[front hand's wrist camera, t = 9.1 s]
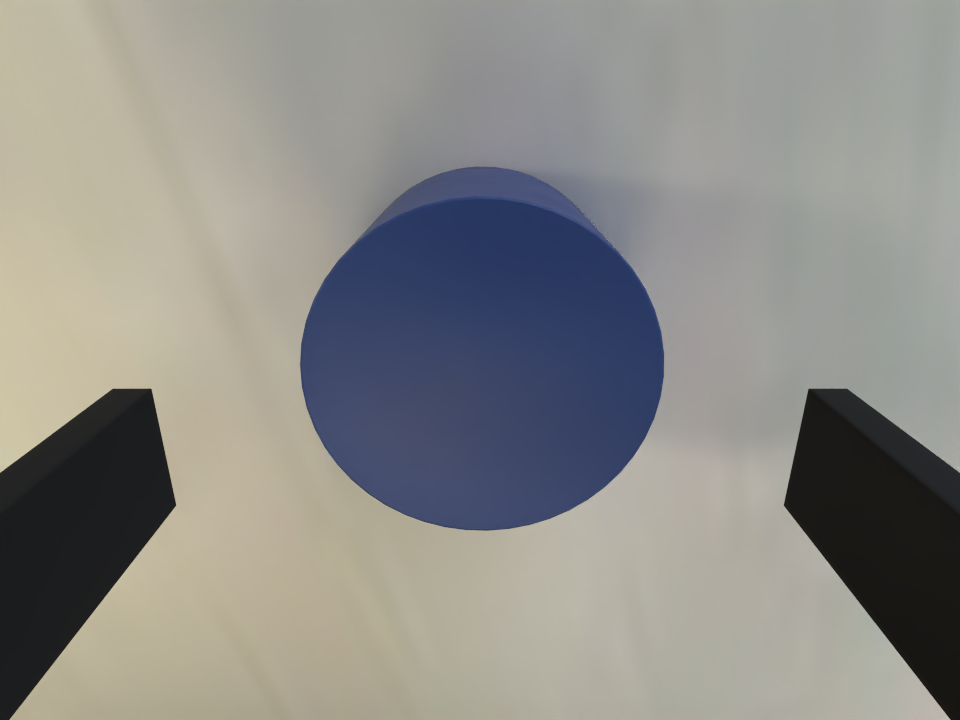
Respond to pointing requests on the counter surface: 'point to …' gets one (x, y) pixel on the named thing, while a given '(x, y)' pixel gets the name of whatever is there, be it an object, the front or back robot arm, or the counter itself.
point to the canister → (482, 354)
